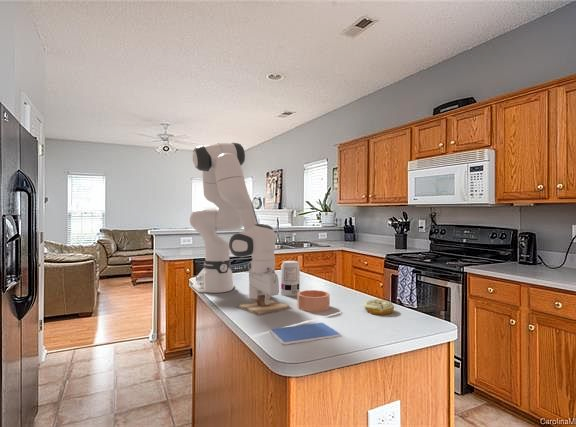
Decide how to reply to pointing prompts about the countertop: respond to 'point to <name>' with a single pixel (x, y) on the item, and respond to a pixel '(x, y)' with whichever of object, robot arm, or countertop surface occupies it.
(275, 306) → the lid
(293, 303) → the countertop surface
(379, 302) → the decorated donut
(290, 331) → the tablet computer
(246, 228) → the robot arm
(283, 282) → the supplement can
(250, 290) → the medicine bottle
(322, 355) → the countertop surface
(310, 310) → the bowl
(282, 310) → the mat
